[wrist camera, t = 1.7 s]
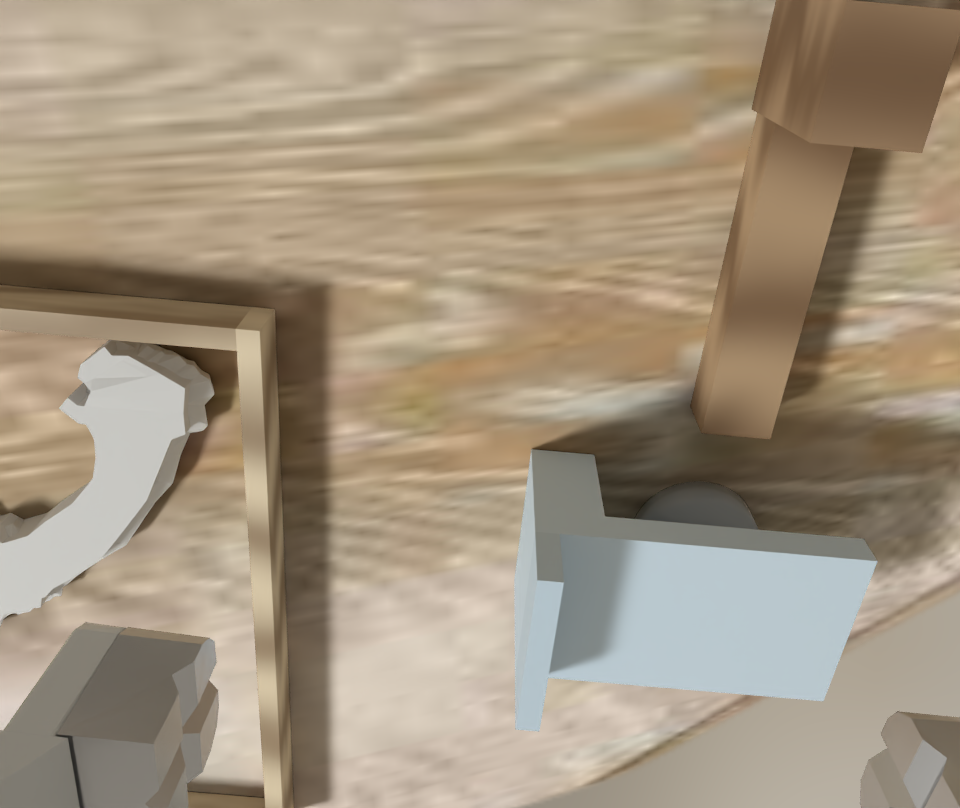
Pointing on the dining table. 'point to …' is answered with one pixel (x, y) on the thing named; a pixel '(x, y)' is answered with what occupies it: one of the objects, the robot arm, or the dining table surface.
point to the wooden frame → (262, 467)
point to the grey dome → (698, 506)
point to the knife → (107, 468)
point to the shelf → (672, 598)
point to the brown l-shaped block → (809, 181)
